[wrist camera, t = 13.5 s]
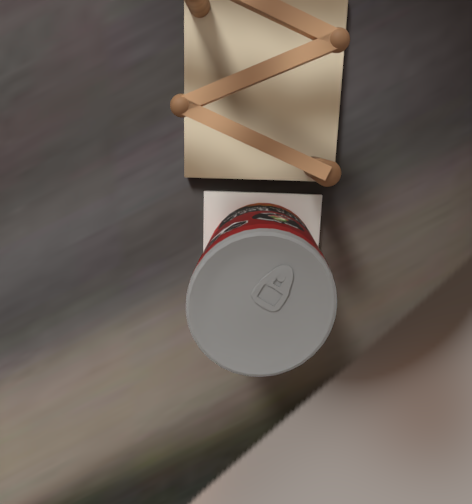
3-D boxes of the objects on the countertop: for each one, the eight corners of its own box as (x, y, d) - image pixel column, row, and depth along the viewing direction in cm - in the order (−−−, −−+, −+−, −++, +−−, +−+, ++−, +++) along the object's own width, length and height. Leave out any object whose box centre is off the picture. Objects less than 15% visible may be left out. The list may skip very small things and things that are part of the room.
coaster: (205, 190, 32) (204, 191, 32) (321, 194, 32) (322, 195, 31) (203, 305, 34) (202, 308, 34) (312, 310, 34) (313, 313, 33)
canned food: (326, 216, 32) (360, 254, 21) (293, 315, 34) (309, 396, 23) (224, 187, 32) (207, 210, 21) (197, 288, 33) (168, 357, 23)
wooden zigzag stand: (186, -7, 29) (158, -64, 21) (345, -5, 29) (379, -63, 21) (186, 176, 32) (161, 187, 24) (331, 180, 32) (356, 193, 23)
